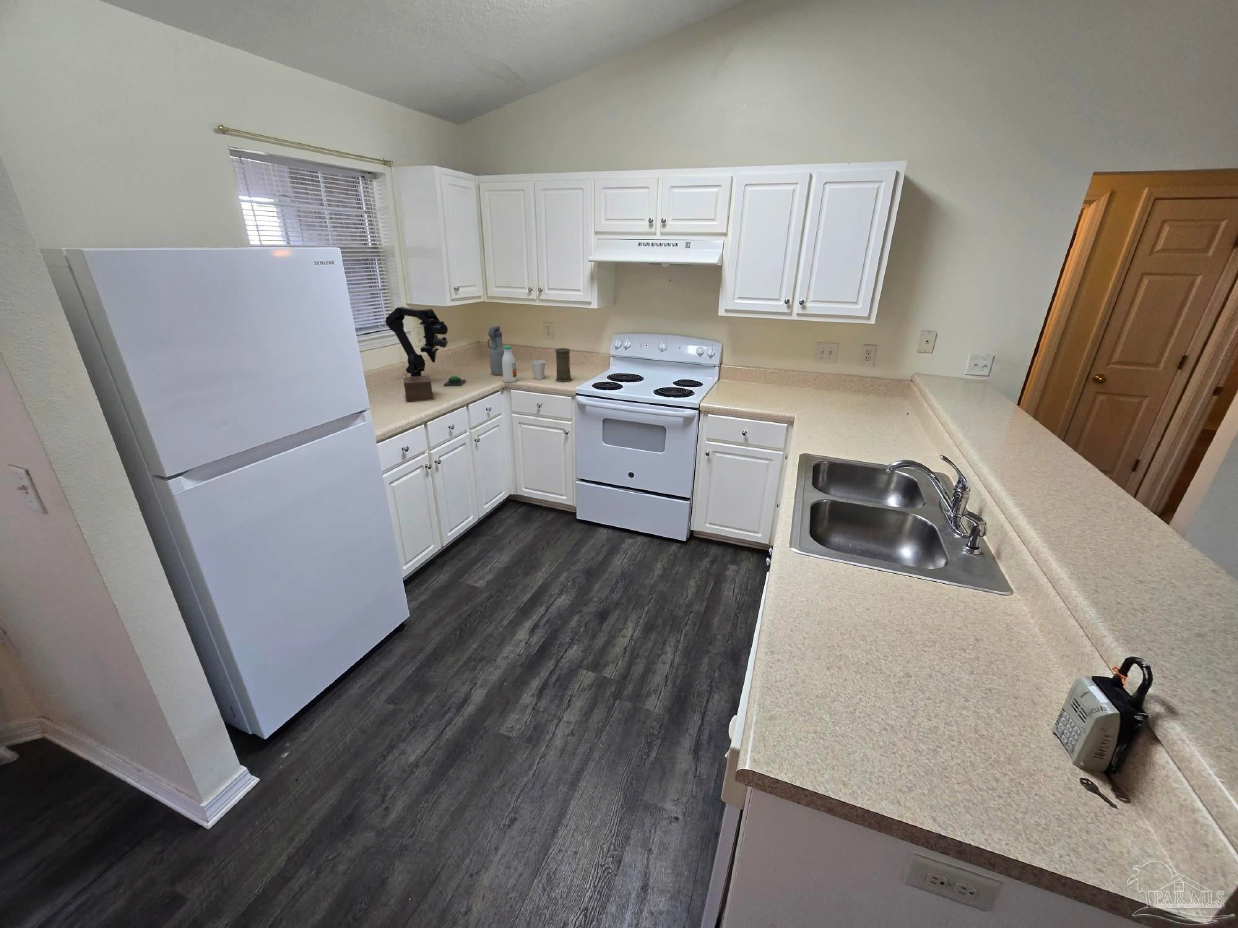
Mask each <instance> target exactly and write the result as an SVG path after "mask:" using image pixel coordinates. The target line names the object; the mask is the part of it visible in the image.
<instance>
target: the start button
mask: <svg viewBox="0 0 1238 928" xmlns="http://www.w3.org/2000/svg"><path fill="white" fill-rule="evenodd" d="M458 377H459V376H458V375H451V376H450V378H451V379H458Z"/></svg>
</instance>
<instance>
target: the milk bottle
mask: <svg viewBox="0 0 1238 928" xmlns="http://www.w3.org/2000/svg"><path fill="white" fill-rule="evenodd" d="M503 348H504V355H503V358H502V370H503V375H502V380H503V381H504V382H505V383H514V382H517V380H518V377H517V364H516V359H515V356H514V354H513V352H512V350H513V347H512V345H503Z"/></svg>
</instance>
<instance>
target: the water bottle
mask: <svg viewBox="0 0 1238 928" xmlns="http://www.w3.org/2000/svg"><path fill="white" fill-rule="evenodd" d="M487 336H488V337H489V339H487V348H489V350H488V353H489V365H490V374H491V375H493V376H503V370H502V358H503V355H504V348H503V347H504V345H503V332H502V331H501V326H499V325H497V326H495V325H494V326H492V327H489V329H488V332H487ZM490 344H491V345H490Z"/></svg>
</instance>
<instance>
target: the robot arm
mask: <svg viewBox="0 0 1238 928" xmlns="http://www.w3.org/2000/svg"><path fill="white" fill-rule="evenodd" d="M406 317H413V318H416V319H417V320H420V321H421V322H419V325H420V326H422V327H423V339H424V341H425V343H424V345H422V346H421V347H420V349H419V350H420V353H426V355H427V356H428V358H429V360H430V361H431V363H436V360H437V359H436V358H437V353H438V351H439V350H440V348H442V349H443V348H446V347H447V346H448V344H449V340H448V339H447V337H446V335H447V334H448V331H449V329H448V326H447V324H445V321H443V320H442V321H441V320H440V319H439V317H438V316H437V314H436V313H435V311H434V309H432V308H424V309H418V308H410V307H404V306H397V307H395V308H394V310H393V311H391V313H388V315H387V316H386V317H385V320H384V322H385V324H386V326H387V327H388V329H389V330H390V331H391V332H393V333H394V334H395V336H396V337H397V339H398V341H399V343H400V345H401V348H402V349H403V351H404V352H405V354H406V356H407V365H408V366H407V367H406V369H405V371H406V373H407V374H410V377H415V376H423V374H422V372H425V368H426V360H425V359H424V357H423V355H422V354H419V353H417V352H416V350H415V348H414V346H413V344H412V342H411V341H410V339H409V337H408V335H407V332H406V331H405V329H404V328H405V326H404V325H405V324H404V320H405V318H406ZM439 335H441V336H443V337H442V338H441V337H439ZM438 347H439V348H438Z"/></svg>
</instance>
